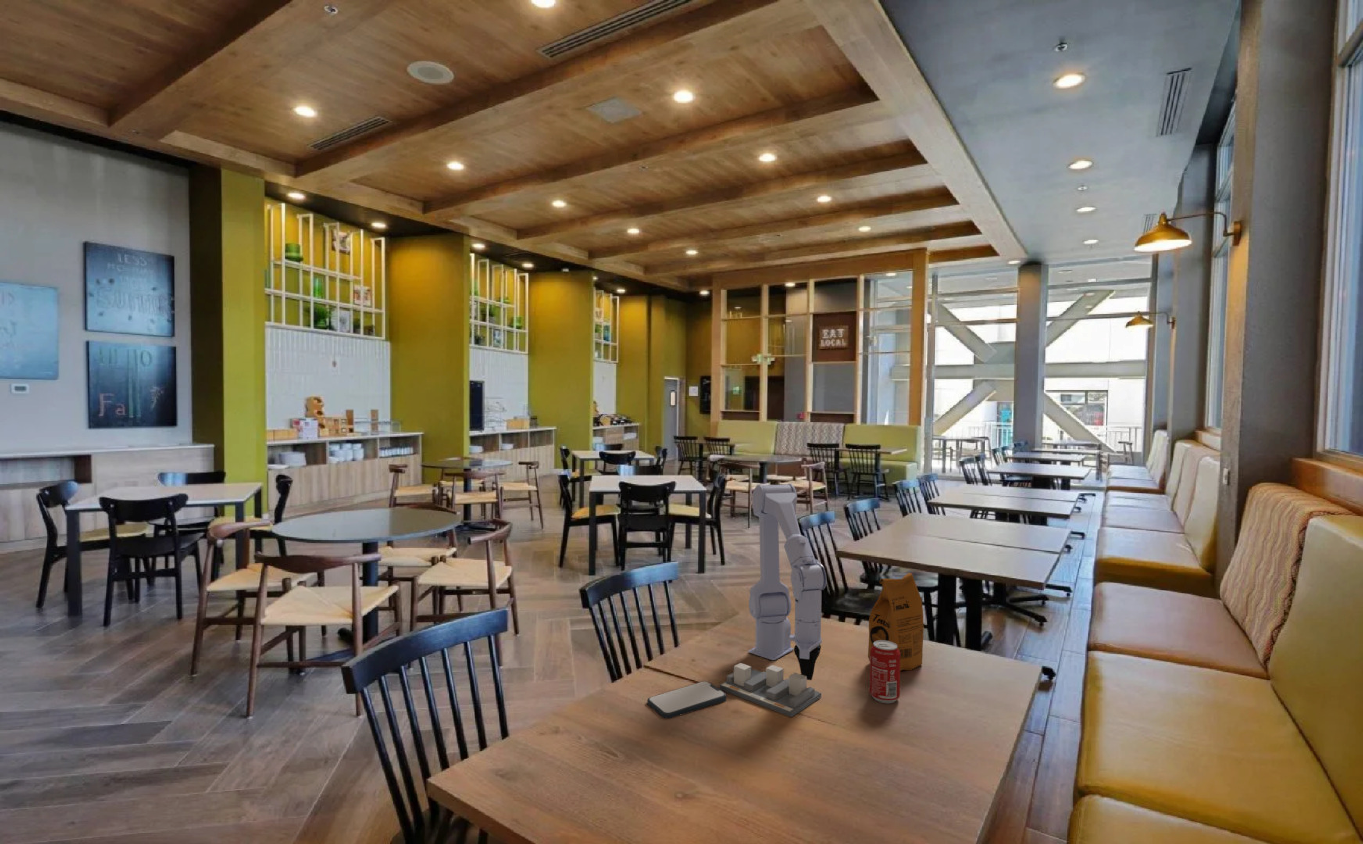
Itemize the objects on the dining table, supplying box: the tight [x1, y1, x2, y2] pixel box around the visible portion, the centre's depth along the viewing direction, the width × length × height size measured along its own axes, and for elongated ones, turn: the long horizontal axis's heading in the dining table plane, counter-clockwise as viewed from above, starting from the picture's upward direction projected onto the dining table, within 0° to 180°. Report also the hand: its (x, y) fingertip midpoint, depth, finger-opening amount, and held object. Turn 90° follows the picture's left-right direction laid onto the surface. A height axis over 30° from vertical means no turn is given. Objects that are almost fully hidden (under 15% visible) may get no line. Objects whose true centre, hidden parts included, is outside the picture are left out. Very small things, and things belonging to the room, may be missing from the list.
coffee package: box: [867, 572, 924, 672], centre depth 160 cm, size 10×12×22 cm
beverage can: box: [869, 640, 901, 704], centre depth 142 cm, size 6×6×12 cm
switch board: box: [719, 666, 822, 718], centre depth 144 cm, size 12×19×2 cm, turn 48°
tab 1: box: [733, 662, 752, 687], centre depth 147 cm, size 2×3×4 cm
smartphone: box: [646, 680, 727, 719], centre depth 140 cm, size 9×2×16 cm
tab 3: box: [788, 672, 808, 696], centre depth 142 cm, size 2×3×4 cm
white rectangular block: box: [765, 664, 784, 687], centre depth 146 cm, size 2×3×4 cm
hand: (807, 678), depth 144 cm, fingers closed
